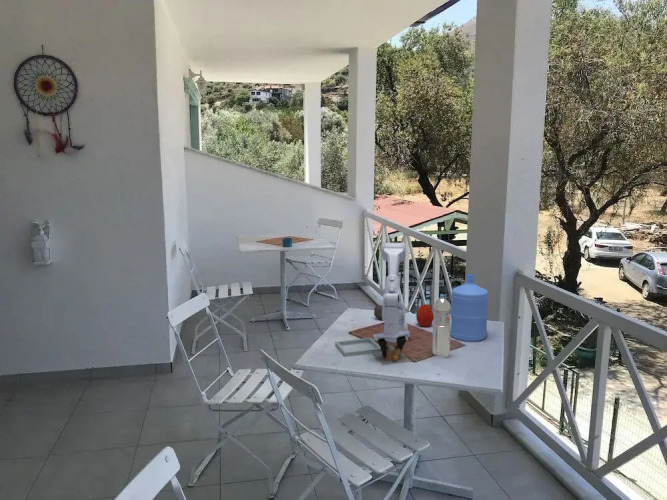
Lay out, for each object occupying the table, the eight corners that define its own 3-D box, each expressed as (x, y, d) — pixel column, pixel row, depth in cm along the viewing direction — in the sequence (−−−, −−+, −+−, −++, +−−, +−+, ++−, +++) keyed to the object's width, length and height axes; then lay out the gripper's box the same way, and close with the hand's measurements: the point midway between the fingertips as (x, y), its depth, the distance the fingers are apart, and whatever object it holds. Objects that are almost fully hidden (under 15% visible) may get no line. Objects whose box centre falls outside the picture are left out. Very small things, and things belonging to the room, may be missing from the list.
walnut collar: (395, 354, 214) (395, 344, 214) (402, 361, 207) (403, 351, 207) (382, 356, 213) (382, 346, 212) (389, 362, 206) (389, 352, 205)
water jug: (485, 343, 229) (488, 279, 224) (448, 340, 234) (449, 277, 229) (487, 332, 243) (489, 272, 239) (452, 329, 248) (453, 270, 244)
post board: (399, 353, 219) (399, 340, 218) (411, 363, 207) (411, 350, 206) (371, 356, 215) (371, 343, 214) (382, 367, 204) (382, 353, 203)
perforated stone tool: (405, 321, 262) (405, 307, 261) (401, 324, 258) (401, 310, 257) (377, 317, 270) (377, 303, 269) (373, 319, 265) (373, 306, 264)
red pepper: (423, 321, 261) (423, 300, 259) (437, 325, 255) (437, 303, 253) (412, 325, 255) (412, 303, 253) (426, 329, 249) (426, 306, 247)
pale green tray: (370, 343, 231) (370, 337, 230) (382, 354, 218) (382, 348, 217) (335, 347, 227) (335, 341, 226) (345, 358, 213) (344, 352, 213)
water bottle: (439, 359, 211) (440, 297, 207) (428, 354, 217) (429, 294, 213) (453, 356, 214) (454, 295, 210) (442, 351, 220) (443, 291, 216)
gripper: (377, 327, 203) (377, 361, 205) (413, 323, 207) (412, 357, 209) (371, 322, 210) (371, 355, 212) (405, 318, 214) (405, 351, 216)
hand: (391, 355), depth 211 cm, fingers closed on walnut collar, 6 cm apart
